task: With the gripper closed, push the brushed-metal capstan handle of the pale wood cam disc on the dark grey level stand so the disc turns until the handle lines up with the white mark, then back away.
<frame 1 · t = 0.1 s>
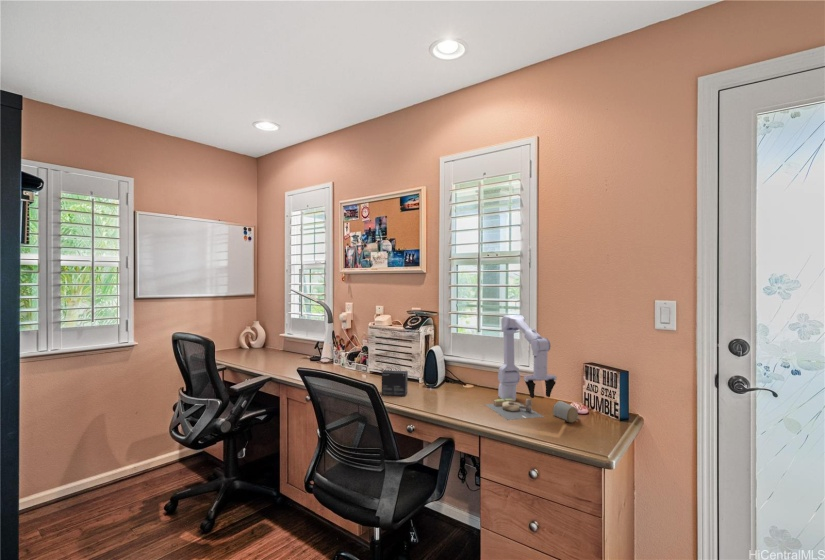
hand: (540, 397, 176), 10 cm above the table, tool pointing down, fingers open, 7 cm apart
ceramic mug: (567, 420, 177), on the table
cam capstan: (516, 403, 185), point 4 cm above the table, hinge at 45.0°
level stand: (513, 413, 184), on the table
small box: (394, 394, 213), on the table
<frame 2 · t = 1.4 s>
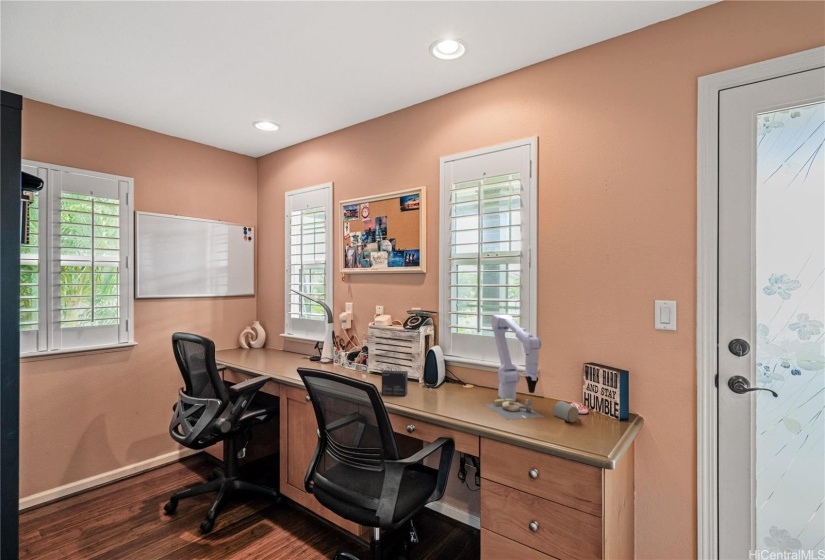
hand: (531, 392, 186), 9 cm above the table, tool pointing down, fingers closed
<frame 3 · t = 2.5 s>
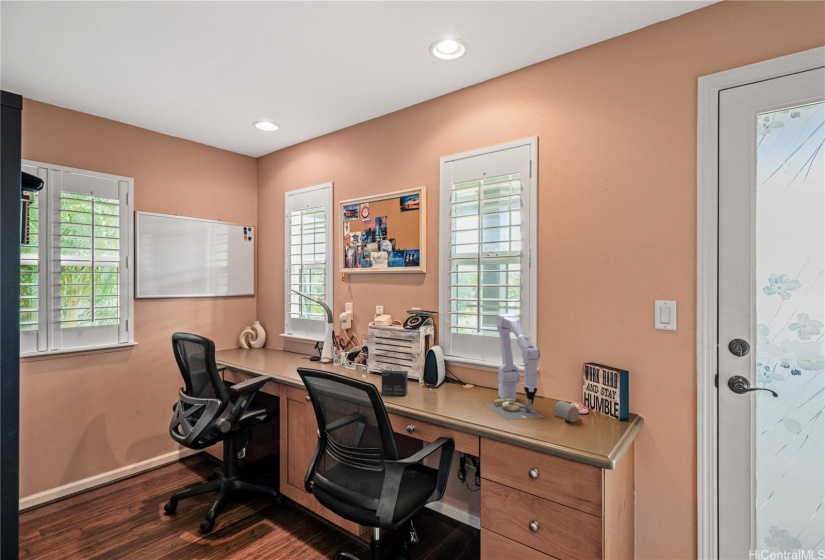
hand: (530, 403, 184), 5 cm above the table, tool pointing down, fingers closed
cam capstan: (516, 403, 185), point 4 cm above the table, hinge at 43.4°, touching gripper
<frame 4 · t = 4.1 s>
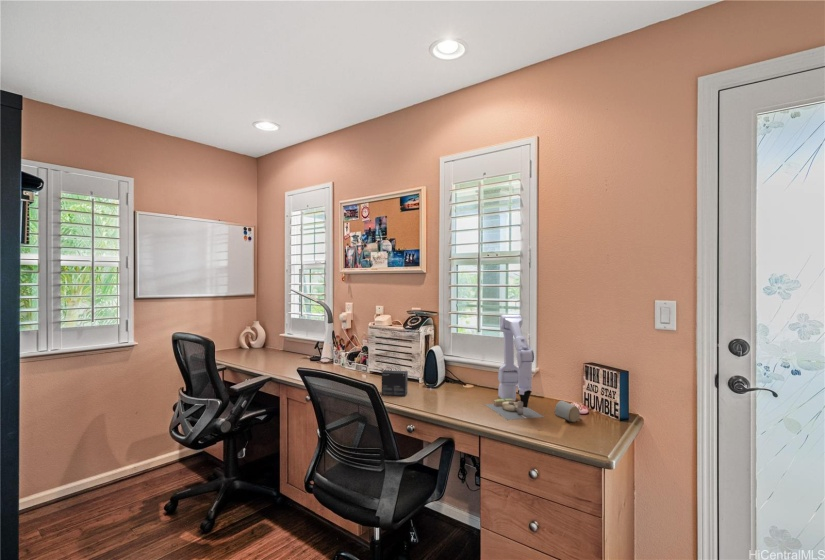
hand: (524, 406, 179), 5 cm above the table, tool pointing down, fingers closed, pressing on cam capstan
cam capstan: (514, 404, 184), point 4 cm above the table, hinge at 0.2°, touching gripper
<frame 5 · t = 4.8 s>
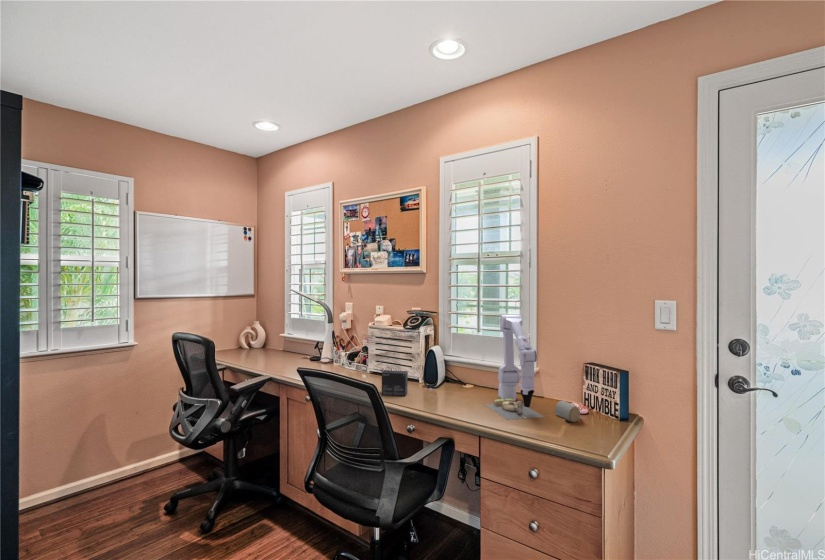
hand: (527, 406, 179), 5 cm above the table, tool pointing down, fingers closed
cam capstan: (513, 404, 184), point 4 cm above the table, hinge at -1.5°
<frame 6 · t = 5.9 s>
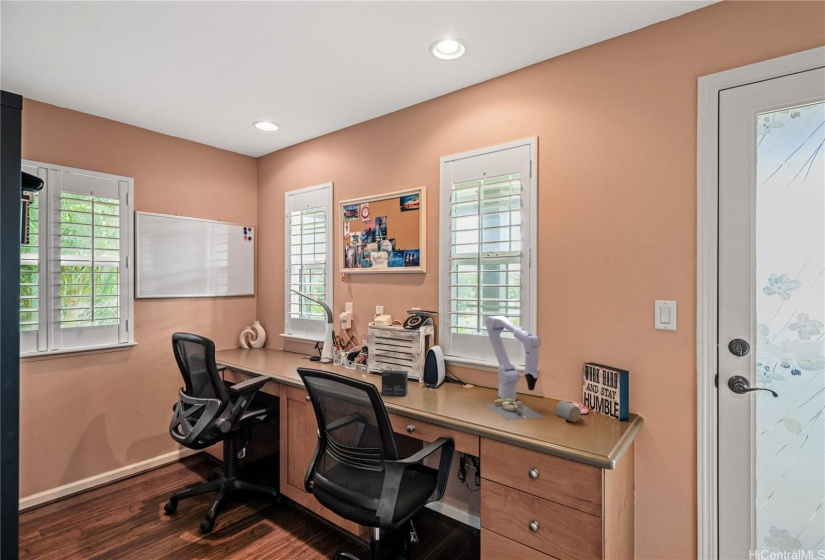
hand: (531, 389, 190), 9 cm above the table, tool pointing down, fingers closed
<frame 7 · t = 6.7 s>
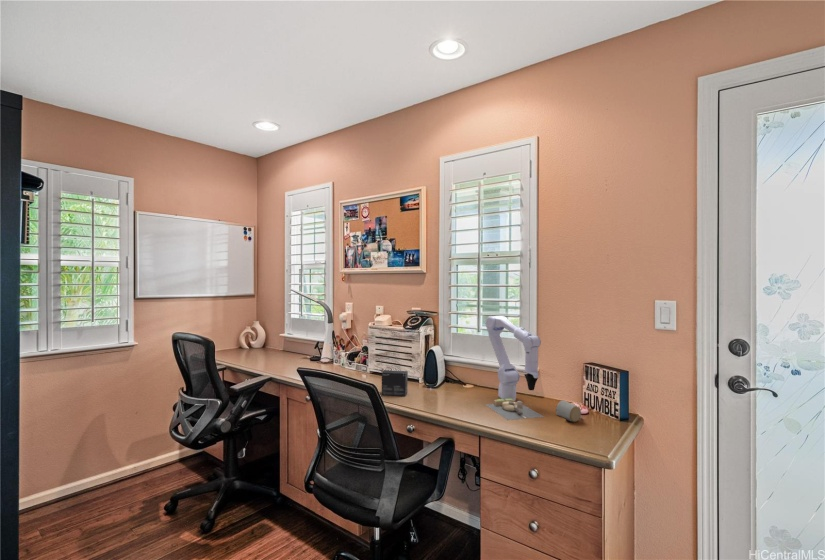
hand: (531, 389, 190), 9 cm above the table, tool pointing down, fingers closed
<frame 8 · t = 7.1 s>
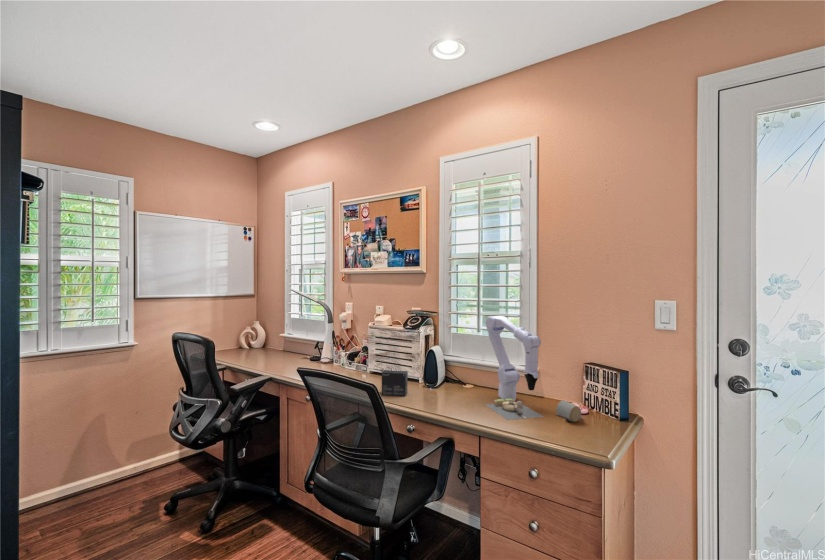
hand: (531, 389, 190), 9 cm above the table, tool pointing down, fingers closed
at the end: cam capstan at -2° (first picture: +45°); ceramic mug moved 2.2 cm from its start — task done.
